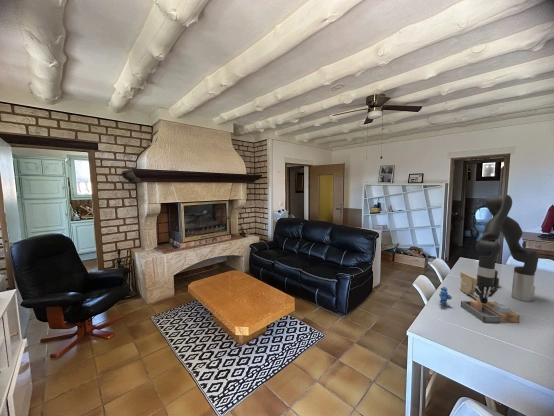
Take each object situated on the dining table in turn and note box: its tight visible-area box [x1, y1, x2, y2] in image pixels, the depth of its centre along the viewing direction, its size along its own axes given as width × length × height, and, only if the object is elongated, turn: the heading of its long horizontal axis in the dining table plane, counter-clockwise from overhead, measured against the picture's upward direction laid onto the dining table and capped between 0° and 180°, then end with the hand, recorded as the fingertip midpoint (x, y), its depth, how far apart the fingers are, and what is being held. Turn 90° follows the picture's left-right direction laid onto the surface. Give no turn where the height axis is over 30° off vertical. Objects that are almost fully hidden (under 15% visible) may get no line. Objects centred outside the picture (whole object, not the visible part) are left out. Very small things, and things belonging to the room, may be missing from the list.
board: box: [478, 301, 520, 323], centre depth 132 cm, size 10×15×4 cm, turn 177°
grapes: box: [438, 286, 453, 306], centre depth 142 cm, size 12×7×12 cm, turn 140°
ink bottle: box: [493, 269, 500, 289], centre depth 170 cm, size 10×9×12 cm
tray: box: [460, 300, 501, 324], centre depth 133 cm, size 8×17×4 cm, turn 177°
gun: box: [459, 271, 489, 302], centre depth 152 cm, size 24×3×15 cm, turn 169°
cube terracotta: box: [470, 300, 482, 312], centre depth 136 cm, size 4×4×3 cm
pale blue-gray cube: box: [494, 303, 511, 314], centre depth 128 cm, size 4×4×3 cm
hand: (483, 303), depth 136 cm, fingers closed
